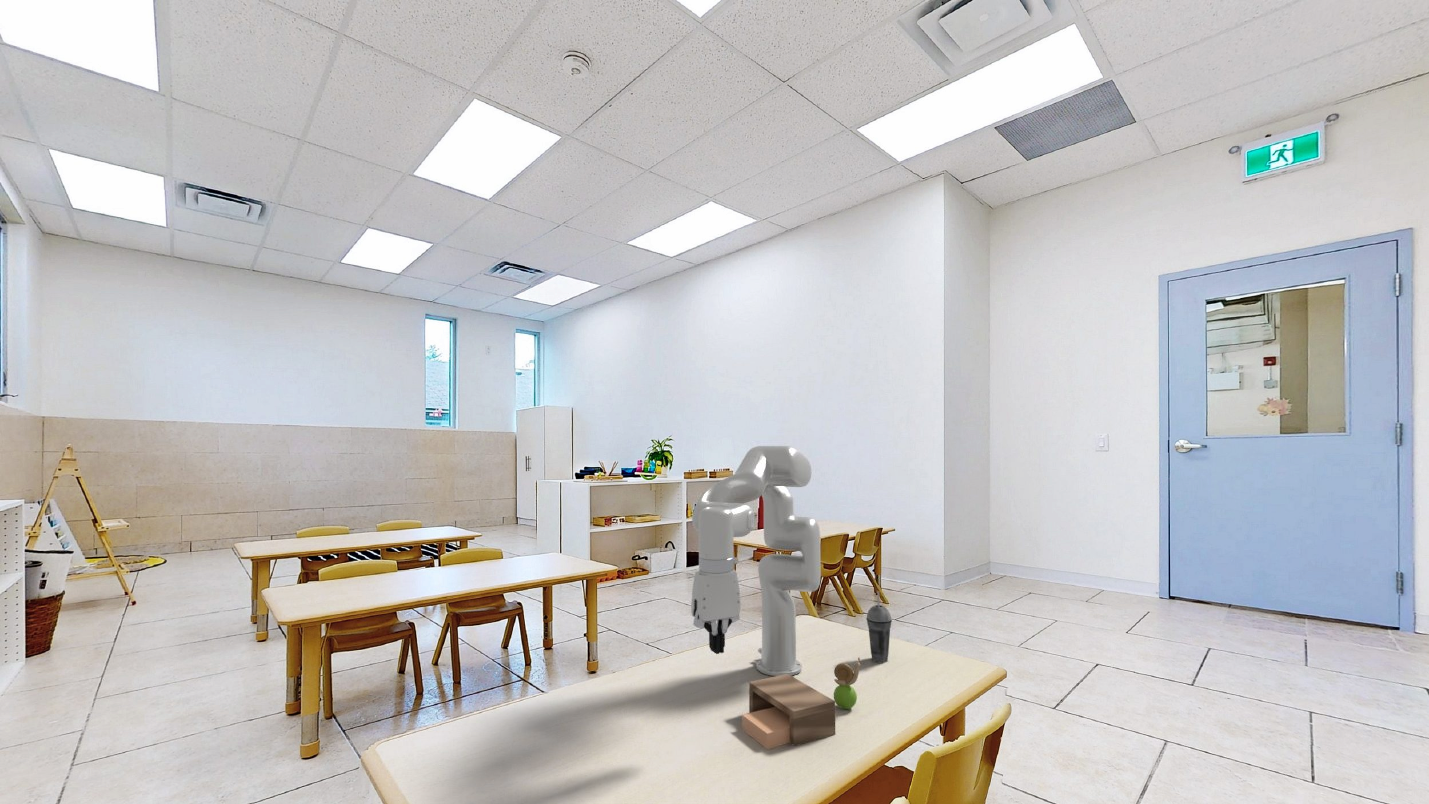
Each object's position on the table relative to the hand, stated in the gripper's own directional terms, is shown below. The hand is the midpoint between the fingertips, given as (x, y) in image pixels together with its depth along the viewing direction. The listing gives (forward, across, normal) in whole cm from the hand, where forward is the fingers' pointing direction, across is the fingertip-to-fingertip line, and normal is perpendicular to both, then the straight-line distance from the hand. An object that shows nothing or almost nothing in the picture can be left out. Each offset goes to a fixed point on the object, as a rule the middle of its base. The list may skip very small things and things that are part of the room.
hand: (717, 651), depth 131 cm
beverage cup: (+20, -65, -20) cm, 71 cm away
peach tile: (+19, -14, +3) cm, 24 cm away
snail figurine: (+20, -35, +1) cm, 40 cm away
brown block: (+19, -18, +1) cm, 26 cm away
